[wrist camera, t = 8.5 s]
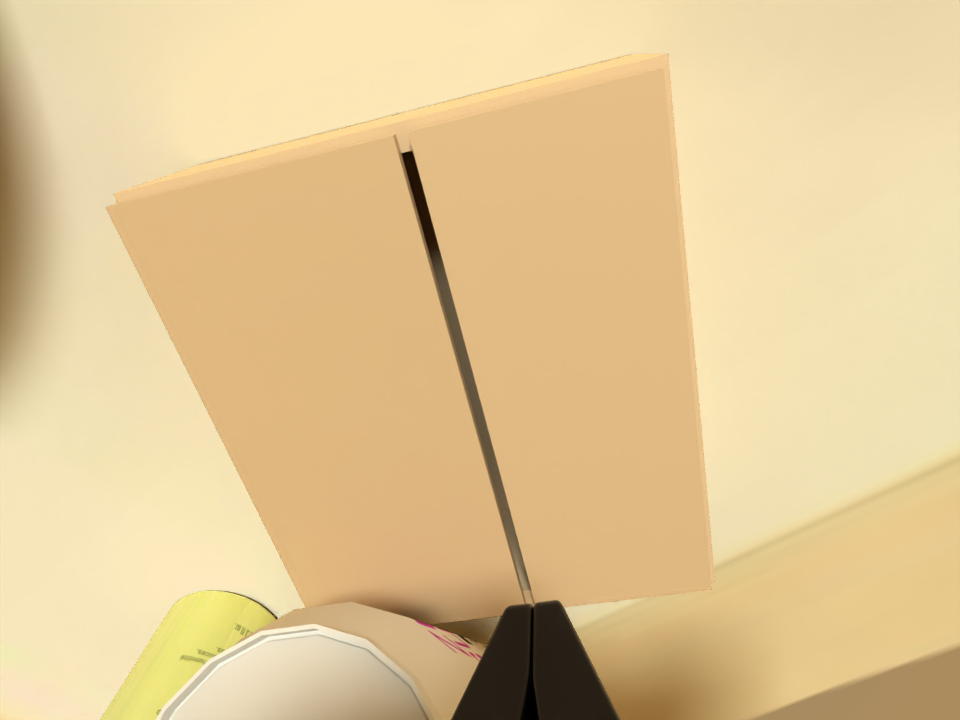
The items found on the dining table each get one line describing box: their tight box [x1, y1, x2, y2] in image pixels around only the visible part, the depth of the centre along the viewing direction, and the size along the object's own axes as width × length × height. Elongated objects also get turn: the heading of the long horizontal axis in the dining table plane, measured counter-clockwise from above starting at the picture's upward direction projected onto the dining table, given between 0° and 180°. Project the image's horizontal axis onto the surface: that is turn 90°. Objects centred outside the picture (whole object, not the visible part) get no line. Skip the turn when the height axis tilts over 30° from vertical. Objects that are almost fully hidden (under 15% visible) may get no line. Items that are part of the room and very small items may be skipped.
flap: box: [408, 68, 712, 607], centre depth 15 cm, size 5×14×1 cm, turn 13°
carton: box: [106, 54, 715, 625], centre depth 17 cm, size 12×14×5 cm
